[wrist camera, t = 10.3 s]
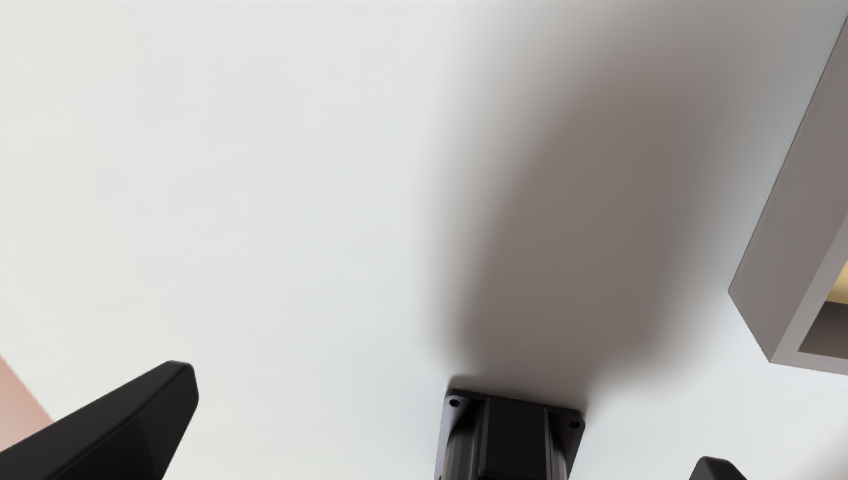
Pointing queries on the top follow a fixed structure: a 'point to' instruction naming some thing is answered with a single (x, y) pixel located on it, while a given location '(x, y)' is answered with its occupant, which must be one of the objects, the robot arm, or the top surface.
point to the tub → (805, 239)
